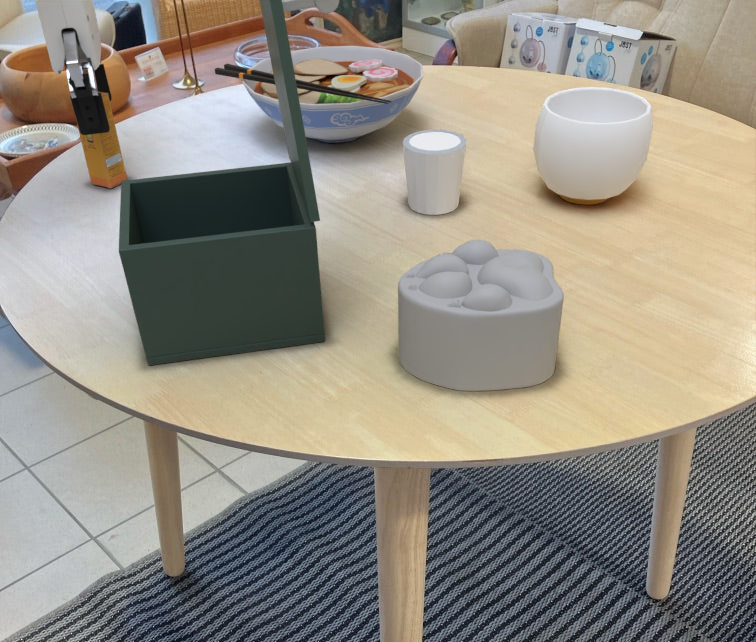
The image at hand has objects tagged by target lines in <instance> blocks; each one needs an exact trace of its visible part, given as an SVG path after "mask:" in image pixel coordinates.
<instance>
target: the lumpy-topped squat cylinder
mask: <svg viewBox="0 0 756 642" xmlns="http://www.w3.org/2000/svg"><path fill="white" fill-rule="evenodd" d="M558 283H559V282H557V280H556V279H555V275H554V265H553V262H552V261H551V260H550V259H549V257H547V256H545V255H543V254H541V253H537V252H534V251H530V250H527V249H517V248H516V249H515V248H509V249H508V248H505V249H503V248H502V249H499V248H498V249H496V247H495V246H494V245H493V244H492V243H491V242H489V241H488V240H484V239H471V240H467V241H465V242H464V243H462V244H461V245H459V246H458V247H456V248H455V249H453V251H452V252H443V253H441V254H438V255H434V256H433V257H431V258H429V259H426V260H424V261H421V262H419V263H417V264H416V265H414V266H412V267H411V268H410V269H408V270H407V271H406V272H405V273H403V274H402V276H401V277H400V278H399V281H398V284H397V307H398V308H397V309H398V310H397V314H398V315H397V316H398V317H397V321H398V322H397V323H398V325H397V326H398V331H397V332H398V362H399V363H400V365H401V367H402V369H404V370H405V371H406V372H408V373H409V374H411V375H412V376H414V377H416V378H417V379H419V380H422V381H423V382H426V383H428V384H432V385H436V386H438V387H443V388H446V389H451V390H455V391H463V392H464V391H465V392H467V391H468V392H471V391H472V392H477V391H478V392H479V391H480V392H482V391H503V390H512V389H521V388H528V387H534V386H537V385H540V384H542V383H544V382H546V381H547V380H549V379H551V378H552V377H553V375H554V373H555V367H556V360H557V355H558V353H557V352H558V344H559V336H560V331H561V324H562V314H563V305H564V301H565V300H564V299H565V295H564V291H563V289H562V287H561V285H559V284H558Z"/></svg>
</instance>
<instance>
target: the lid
mask: <svg viewBox="0 0 756 642" xmlns="http://www.w3.org/2000/svg"><path fill="white" fill-rule="evenodd" d="M258 1H259V6H260V11H261V17H262V22H263V27H264V32H265V38H266V43H267V47H268V53H269V58H270V59H271V64H272V70H273V75H274V80H275V85H276V91H277V96H278V101H279V106H280V111H281V117H282V122H283V127H284V128H283V132H284V137H285V142H286V147H287V153H288V157H289V161H290V162H291V164H292V167H293V170H294V173H295V177H296V180H297V183H298V186H299V189H300V192H301V195H302V198H303V201H304V204H305V207H306V210H307V213H308V216H309V220H310V222H314V223H315V222H319V221H321V218H320V217H321V216H320V212H319V207H318V205H319V204H318V199H317V195H316V188H315V184H314V178H313V177H314V176H313V173H312V172H313V171H312V166H311V165H312V164H311V159H310V155H309V149H308V143H307V137H306V136H305V131H304V125H303V119H302V113H301V108H300V102H299V96H298V91H297V85H296V79H295V73H294V68H293V62H292V56H291V51H292V50H291V46H290V45H291V44H290V41H289V39H290V38H289V33H288V28H287V23H286V17H285V13H289V12H295V11H300V10H304V9H310V8H316V9H317V10H318V11H319V12H321V13H322V14H331V13H333V12H335V11H336V10H337V9H338V7H339V4H340V0H258Z"/></svg>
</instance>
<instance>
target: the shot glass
mask: <svg viewBox="0 0 756 642" xmlns="http://www.w3.org/2000/svg"><path fill="white" fill-rule="evenodd" d="M467 143H468V140H467V138H466V137H465V136H464V135H463V134H461V133H458V132H456V131H452V130H446V129H426V130H425V129H424V130H418V131H416V132H413V133H410V134H408V135H406V136H405V137H404V138H403V141H402V150H403V151H402V152H403V159H404V162H403V163H404V172H405V182H406V191H407V202H408V207H409V208H410V209H411V210H412V211H414V212H415V213H418V214H422V215H427V216H429V215H430V216H438V215H446V214H448V213H451V212H453V211H455V210H456V209H458V207H459V202H460V196H461V187H462V180H463V172H464V165H465V158H466V150H467Z"/></svg>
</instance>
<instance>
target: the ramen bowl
mask: <svg viewBox="0 0 756 642" xmlns="http://www.w3.org/2000/svg"><path fill="white" fill-rule="evenodd" d="M291 56H292V62H293V68H294V73H295V79H296V85H297V91H298V96H299V102H300V108H301V113H302V119H303V125H304V131H305V136H306V138H309V139H312V140H315V141H319V142H323V143H328V144H335V143H336V144H337V143H338V144H339V143H347V142H352V141H354V140H357V139H359V138H361V137H363V136H364V135H367V134H371V133H373V132H375V131H378V130H380V129H383V128H385V127H386V126H388V125H389V124H390V123H392V122H393V121H394V120H395V119H396V118H397V117H398V116H400V114H401V113H402V112H404V109H406V107H407V106H408V105H409V104H410V102H411V101H412V99H413V97H414V96H415V94H416V93H417V91H418V89H419V87H420V85H421V82H422V80H423V78H424V69H423V68H424V67H423V64H422V63H421V62H420V61H417V60H416V59H415V58H413V57H411V55H408V54H405V53H402V52H399V51H395V50H391V49H387V48H383V47H372V46H363V45H334V46H333V45H332V46H331V45H330V46H329V45H328V46H316V47H309V48H303V49H302V48H301V49H297V50H291ZM214 74H215V75H217V76H224V77H230V78H235V79H242V81H241V82H242V84H243V86H244V88H245V89H246V91H247V93H248V94H249V96H250V97H251V98H252V100H253V101H254V102H255V103H256V105H257V106H258V107H259V109H261V110H262V112H264V114H265V115H266V116H267V117H268V118H269V119H270V120H271V121H272V122H273V123H274V124H275V125H277V126H278V127H280V128H282V129H284V127H283V122H282V117H281V111H280V106H279V101H278V96H277V91H276V85H275V80H274V75H273V70H272V64H271V59H270V57H266V58H263V59H261V60H260V61H259V62H257V63H255V64H254V65H252V66H251V67H243V66H240V65H235V64H231V63H225V64H223V68H222V67H216V68H214Z"/></svg>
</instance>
